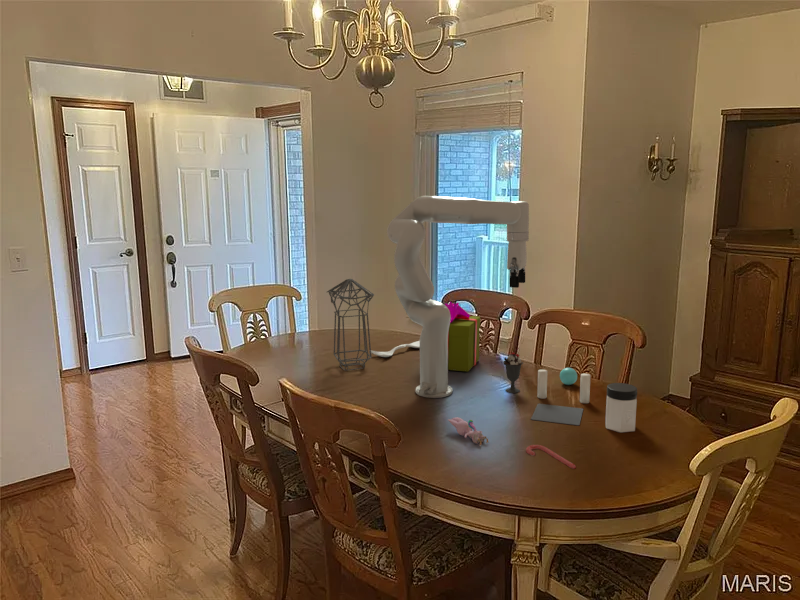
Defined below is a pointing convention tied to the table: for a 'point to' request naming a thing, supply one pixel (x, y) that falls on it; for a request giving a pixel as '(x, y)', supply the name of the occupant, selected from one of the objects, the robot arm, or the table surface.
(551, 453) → the candy cane
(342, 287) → the geometric lantern
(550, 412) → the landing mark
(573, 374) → the ball
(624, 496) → the table surface
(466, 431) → the pink elongated figure
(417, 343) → the spoon
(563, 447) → the table surface
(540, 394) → the left post
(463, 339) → the gift box
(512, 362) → the sundae
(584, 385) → the right post
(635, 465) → the table surface
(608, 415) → the jar
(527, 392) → the table surface
